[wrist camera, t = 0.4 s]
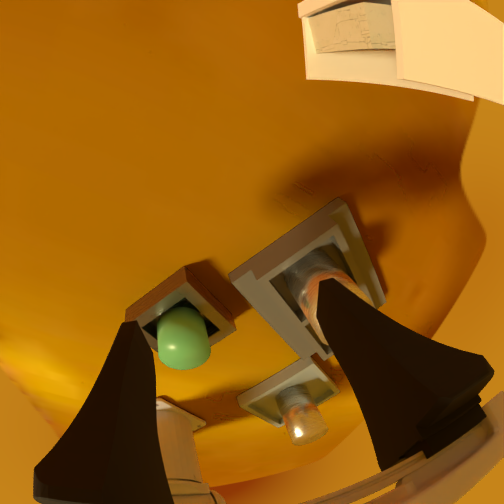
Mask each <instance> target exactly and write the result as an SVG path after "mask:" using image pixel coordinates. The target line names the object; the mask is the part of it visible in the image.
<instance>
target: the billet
mask: <svg viewBox="0 0 504 504" xmlns="http://www.w3.org/2000/svg"><path fill="white" fill-rule="evenodd" d="M275 401H276V404H277V406H278V408H279V411H280V413H281V416H282V418H283V421H284V423H285V425H286V428H287V430H288V433H289V435H290V438H291V440H292V442H293V444H294V445H305V444H309V443H311V442H314V441H316V440H318V439H319V438H321V437H322V436H324V435H325V434H326V433H327V431H328V427H327V425H326V423H325V421H324V419H323V417H322V416H321V414H320V412H319V410H318V408H317V406H316V404H315V402H314V400H313V398H312V396H311V394H310V392H309V390H308V388H307V386H305V385H301V384H299V385H293V386H290V387H288V388H286V389H284V390H282V391H281V392H280V393H279V394H278V395H277V396H276V398H275Z"/></svg>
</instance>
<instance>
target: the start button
mask: <svg viewBox="0 0 504 504" xmlns="http://www.w3.org/2000/svg"><path fill="white" fill-rule="evenodd" d="M157 339H158V355H159V358H160V360H161V361H162V362H163V363H164V364H165V365H167V366H168V367H171V368H174V369H179V370H187V369H193V368H196V367H198V366H200V365H202V364H203V363H205V362H206V361H207V359H208V358H209V356H210V353H211V348H210V344H209V339H208V335H207V331H206V326H205V322H204V319H203V317H202V315H201V314H200V313H199V312H197V311H196V310H194V309H191V308H187V307H176V308H172V309H169V310H167V311H166V312H164V313H163V314H162V315H161V316H160V317H159V319H158V322H157Z"/></svg>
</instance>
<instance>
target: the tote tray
mask: <svg viewBox="0 0 504 504" xmlns="http://www.w3.org/2000/svg"><path fill="white" fill-rule="evenodd" d="M299 384H301V385H305V386H307V388H308V390H309V392H310V394H311V396H312V398H313V400H314V402H315V404H316V406H318V405H320V404H322V403H323V402H325V401H327V400H328V399H330V398H332V397H333V396H335V395H336V394H338V393H340V390H339V389H338V387H337V385H336V384H335V383H334V381H333V380H332V379H331V378H330V377H329V376H328V375H327V374H326V373H325V372H324V370H323V369H322V368H321V367H320V366H319V365H318V364H317V363H316V362H315V360H314V359H313V358H312V357H311V356H310V357H308V358H307V359H305V360H303V359H302V358H301V359H299V360H298V361H296V362H294V363H293V364H291V365H290V366H288V367H286V368H285V369H283V370H282V371H280V372H278V373H277V374H275V375H273V376H272V377H270V378H268V379H267V380H265V381H263V382H261V383H260V384H258V385H256V386H254V387H253V388H251V389H249V390H247V391H246V392H244V393H242V394H240V395H238V396H237V401H238V404H239V407H241V408H243V409H244V410H246V411H248V412H250V413H252V414H253V415H255V416H257V417H259V418H261V419H263V420H265V421H266V422H268V423H270V424H272V425H274V426H276V427H278V428H279V427H281V426H283V425H285V423H284V421H283V418H282V416H281V413H280V411H279V408H278V406H277V404H276V401H275V398H276V396H277V395H278V394H279V393H280V392H281V391H282V390H284V389H286V388H288V387H290V386H293V385H299Z"/></svg>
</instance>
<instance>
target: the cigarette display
mask: <svg viewBox="0 0 504 504" xmlns="http://www.w3.org/2000/svg"><path fill="white" fill-rule="evenodd" d="M298 13H299V18H302V25H303V36H304V49H305V63H306V79H311V80H338V81H353V82H365V83H375V84H384V85H392V86H399V87H406V88H412V89H418V90H424V91H429V92H434V93H439V94H444V95H449V96H453V97H457V98H462V99H466V100H470V101H474V96H476V97H480V98H483V99H486V100H489V101H492V102H495V103H498V104H501V105H504V23H502V22H501V21H499V20H498V19H497V18H495V17H494V16H492V15H491V14H489V13H488V12H486V11H485V10H483V9H482V8H480V7H479V6H477V5H476V4H474V3H472V2H471V1H469V0H304V1H302V2H301V3H299V4H298Z"/></svg>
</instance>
